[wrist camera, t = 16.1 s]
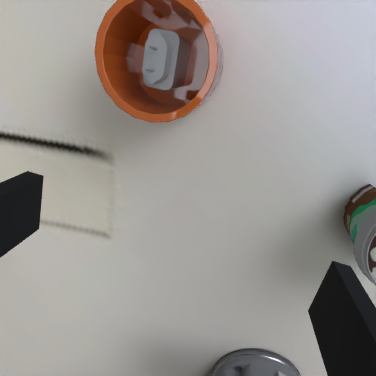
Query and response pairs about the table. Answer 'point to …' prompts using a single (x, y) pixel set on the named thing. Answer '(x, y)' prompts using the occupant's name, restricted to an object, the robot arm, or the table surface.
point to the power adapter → (165, 60)
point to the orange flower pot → (134, 54)
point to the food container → (363, 229)
